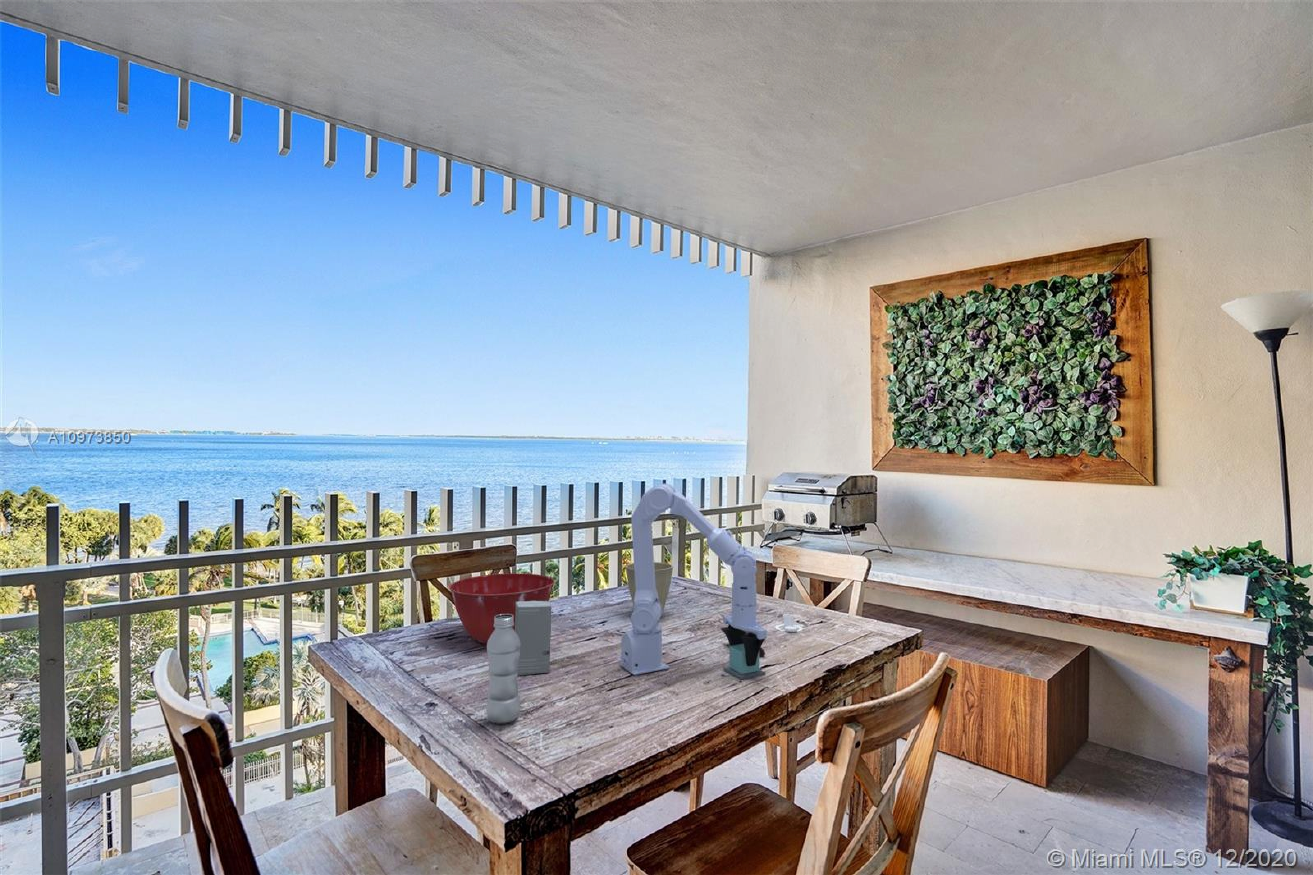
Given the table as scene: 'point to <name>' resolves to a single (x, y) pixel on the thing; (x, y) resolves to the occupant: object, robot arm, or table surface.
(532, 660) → the skincare box
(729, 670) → the slate coaster
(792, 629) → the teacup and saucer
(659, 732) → the table surface
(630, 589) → the plant pot
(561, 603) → the table surface
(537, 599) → the mixing bowl
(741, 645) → the teal cube
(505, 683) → the plastic bottle
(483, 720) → the table surface
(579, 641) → the table surface
